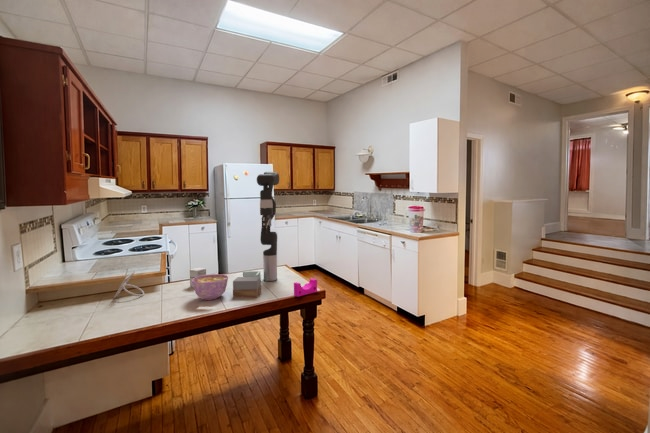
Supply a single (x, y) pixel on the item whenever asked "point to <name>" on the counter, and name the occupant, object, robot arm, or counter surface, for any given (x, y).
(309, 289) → the toy block
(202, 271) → the supplement box
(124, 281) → the wire frame
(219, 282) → the bowl of food
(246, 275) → the right angle wall
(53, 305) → the counter surface
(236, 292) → the tower bottom
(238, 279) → the tower top
